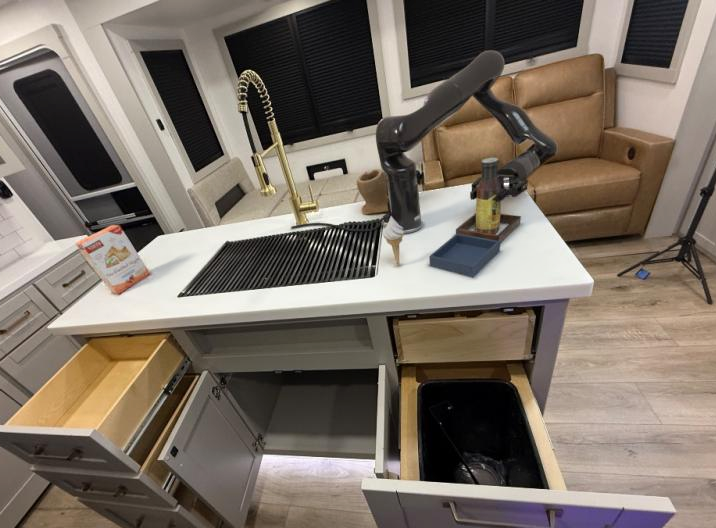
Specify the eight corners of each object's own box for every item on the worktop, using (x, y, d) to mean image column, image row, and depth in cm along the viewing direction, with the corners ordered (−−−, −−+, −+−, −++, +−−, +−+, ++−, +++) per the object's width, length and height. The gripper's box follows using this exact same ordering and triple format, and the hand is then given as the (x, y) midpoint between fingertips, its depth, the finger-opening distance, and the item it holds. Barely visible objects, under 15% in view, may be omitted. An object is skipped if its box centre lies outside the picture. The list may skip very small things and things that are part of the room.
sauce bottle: (495, 237, 94) (498, 164, 83) (472, 235, 98) (472, 165, 86) (502, 226, 98) (506, 155, 86) (480, 224, 101) (481, 156, 90)
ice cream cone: (396, 258, 97) (388, 209, 89) (412, 262, 94) (406, 212, 85) (384, 268, 95) (375, 218, 86) (400, 273, 91) (393, 221, 82)
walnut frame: (455, 237, 99) (455, 229, 98) (478, 218, 105) (478, 210, 104) (498, 244, 91) (499, 236, 89) (520, 224, 96) (521, 216, 95)
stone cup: (358, 219, 126) (349, 179, 118) (366, 206, 135) (359, 167, 126) (398, 216, 120) (392, 173, 112) (404, 202, 129) (399, 162, 120)
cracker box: (119, 295, 123) (81, 244, 111) (111, 292, 126) (73, 243, 114) (151, 273, 132) (119, 224, 120) (143, 272, 135) (111, 224, 123)
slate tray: (429, 266, 90) (429, 256, 89) (456, 243, 96) (456, 233, 95) (473, 277, 82) (473, 266, 80) (499, 251, 88) (500, 241, 86)
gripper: (538, 188, 95) (510, 213, 88) (488, 185, 105) (459, 207, 97) (541, 161, 91) (512, 185, 83) (489, 160, 101) (458, 182, 93)
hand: (484, 197), depth 90 cm, fingers closed on sauce bottle, 6 cm apart
